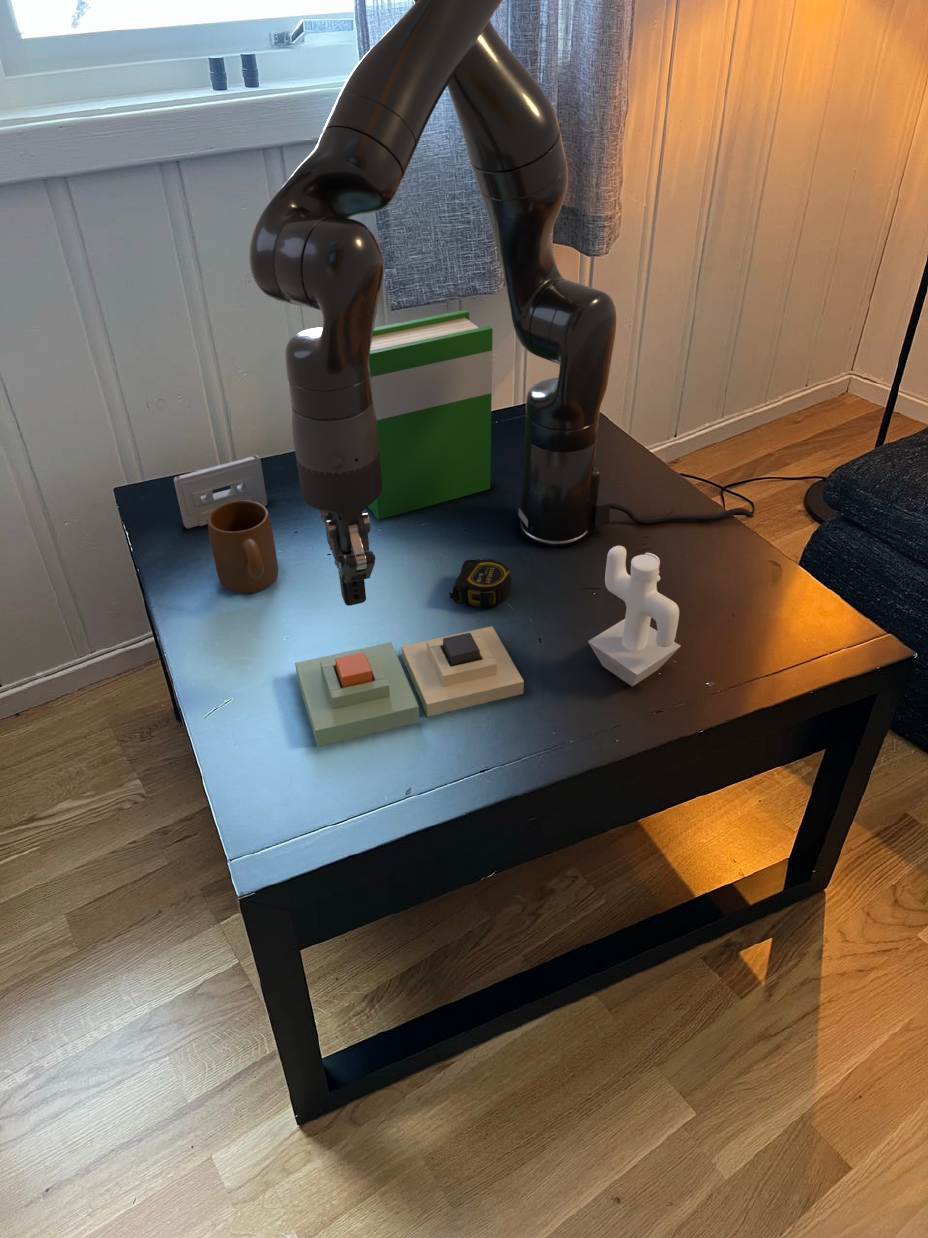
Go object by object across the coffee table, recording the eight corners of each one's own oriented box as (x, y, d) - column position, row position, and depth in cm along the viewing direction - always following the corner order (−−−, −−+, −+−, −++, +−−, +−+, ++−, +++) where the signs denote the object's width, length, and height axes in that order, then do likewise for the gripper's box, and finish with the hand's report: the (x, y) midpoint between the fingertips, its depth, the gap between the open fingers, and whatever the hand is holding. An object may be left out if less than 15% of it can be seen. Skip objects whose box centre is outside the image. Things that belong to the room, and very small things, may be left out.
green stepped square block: (392, 657, 107) (390, 630, 104) (419, 722, 99) (418, 695, 96) (297, 678, 104) (293, 651, 102) (317, 747, 96) (313, 719, 93)
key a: (470, 642, 104) (470, 632, 103) (479, 660, 102) (479, 650, 101) (442, 648, 103) (442, 638, 102) (451, 667, 101) (451, 656, 100)
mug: (296, 607, 114) (287, 543, 108) (234, 623, 112) (221, 559, 106) (270, 555, 123) (260, 493, 117) (213, 569, 120) (200, 507, 114)
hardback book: (466, 466, 141) (466, 309, 126) (490, 488, 136) (492, 328, 120) (358, 494, 134) (343, 333, 119) (378, 519, 129) (366, 354, 114)
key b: (365, 662, 101) (364, 651, 100) (372, 681, 98) (371, 670, 97) (336, 669, 100) (334, 658, 99) (343, 688, 98) (341, 677, 97)
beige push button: (492, 638, 109) (492, 615, 107) (523, 694, 102) (524, 670, 100) (401, 658, 107) (400, 635, 104) (427, 717, 99) (426, 693, 97)
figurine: (641, 705, 101) (659, 595, 91) (578, 661, 106) (588, 553, 97) (684, 675, 104) (705, 566, 95) (620, 634, 110) (635, 527, 100)
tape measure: (464, 576, 119) (464, 552, 117) (516, 585, 117) (517, 561, 115) (449, 608, 114) (448, 584, 111) (503, 618, 112) (504, 593, 110)
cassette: (264, 500, 133) (257, 453, 128) (269, 506, 132) (262, 458, 127) (182, 524, 128) (171, 475, 124) (186, 530, 127) (175, 482, 122)
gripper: (397, 476, 79) (408, 631, 90) (360, 409, 89) (373, 556, 100) (311, 492, 78) (332, 648, 89) (282, 422, 87) (304, 571, 98)
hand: (354, 599), depth 94 cm, fingers closed
